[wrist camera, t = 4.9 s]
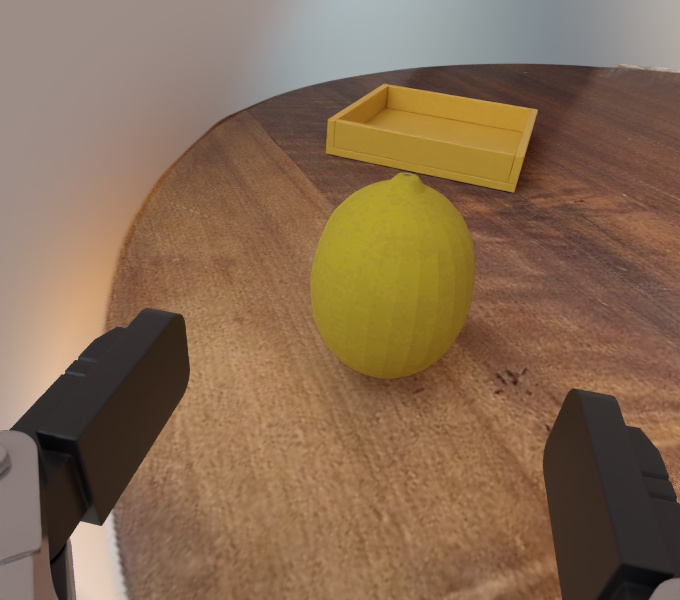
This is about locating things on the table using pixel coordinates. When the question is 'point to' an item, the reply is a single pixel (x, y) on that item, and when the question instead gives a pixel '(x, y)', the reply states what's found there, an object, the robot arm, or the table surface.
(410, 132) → the yellow tray
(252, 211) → the table surface
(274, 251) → the table surface
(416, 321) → the lemon
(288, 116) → the table surface
